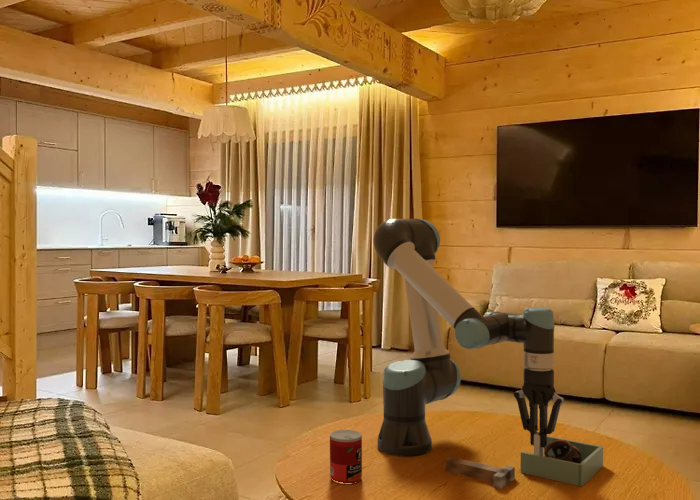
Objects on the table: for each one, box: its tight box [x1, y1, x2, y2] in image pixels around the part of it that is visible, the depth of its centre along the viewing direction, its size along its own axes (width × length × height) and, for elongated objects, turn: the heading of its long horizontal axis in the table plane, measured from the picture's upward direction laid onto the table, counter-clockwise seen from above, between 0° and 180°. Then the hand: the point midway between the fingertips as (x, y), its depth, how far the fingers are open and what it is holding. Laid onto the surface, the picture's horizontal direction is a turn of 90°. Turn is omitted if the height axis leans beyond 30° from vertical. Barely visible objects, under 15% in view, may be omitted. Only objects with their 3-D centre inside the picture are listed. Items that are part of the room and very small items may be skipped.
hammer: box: [444, 456, 516, 490], centre depth 160 cm, size 16×8×3 cm, turn 54°
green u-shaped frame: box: [520, 435, 604, 487], centre depth 164 cm, size 15×17×5 cm
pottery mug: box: [543, 439, 583, 464], centre depth 166 cm, size 12×10×8 cm
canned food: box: [329, 429, 363, 484], centre depth 159 cm, size 8×8×11 cm
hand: (538, 458), depth 168 cm, fingers closed
